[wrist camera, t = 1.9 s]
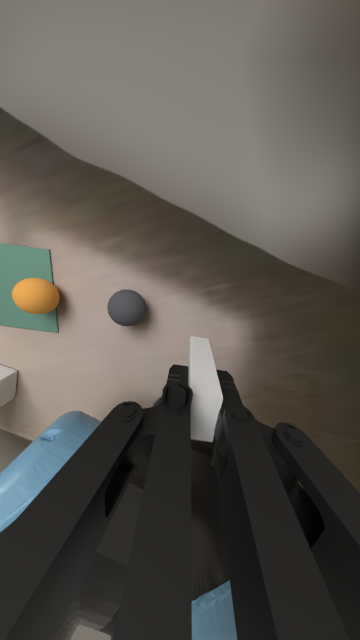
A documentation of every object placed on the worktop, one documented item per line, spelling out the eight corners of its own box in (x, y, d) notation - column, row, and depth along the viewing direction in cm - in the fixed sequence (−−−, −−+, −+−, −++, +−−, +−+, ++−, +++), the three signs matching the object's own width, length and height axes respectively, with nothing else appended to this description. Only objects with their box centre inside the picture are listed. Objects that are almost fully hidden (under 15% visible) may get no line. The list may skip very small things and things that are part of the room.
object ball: (68, 311, 29) (42, 320, 24) (38, 307, 29) (4, 315, 24) (66, 279, 27) (36, 281, 22) (33, 275, 27) (-4, 276, 22)
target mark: (58, 332, 30) (57, 332, 30) (-16, 322, 30) (-18, 322, 30) (49, 249, 26) (48, 249, 26) (-37, 238, 26) (-39, 238, 26)
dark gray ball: (148, 321, 29) (139, 333, 23) (117, 317, 29) (100, 328, 23) (150, 290, 27) (140, 295, 22) (117, 285, 27) (99, 289, 22)
